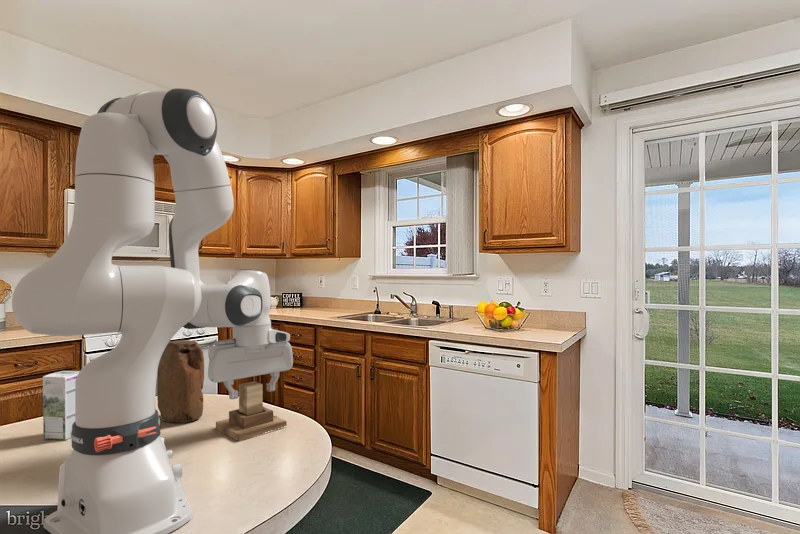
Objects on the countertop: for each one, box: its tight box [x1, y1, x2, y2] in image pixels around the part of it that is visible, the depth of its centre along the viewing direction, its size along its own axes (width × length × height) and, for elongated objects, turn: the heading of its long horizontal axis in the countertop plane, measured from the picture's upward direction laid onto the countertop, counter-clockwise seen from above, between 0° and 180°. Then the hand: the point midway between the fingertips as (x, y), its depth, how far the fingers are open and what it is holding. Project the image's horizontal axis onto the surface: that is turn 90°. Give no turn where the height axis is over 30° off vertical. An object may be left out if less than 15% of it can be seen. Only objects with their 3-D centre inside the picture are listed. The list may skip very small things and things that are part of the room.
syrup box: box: [42, 370, 80, 441], centre depth 102 cm, size 6×6×14 cm
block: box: [156, 339, 205, 424], centre depth 113 cm, size 11×8×20 cm
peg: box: [238, 381, 264, 416], centre depth 106 cm, size 4×4×9 cm
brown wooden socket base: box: [215, 406, 288, 442], centre depth 106 cm, size 12×12×4 cm
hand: (252, 394), depth 106 cm, fingers open, 8 cm apart
